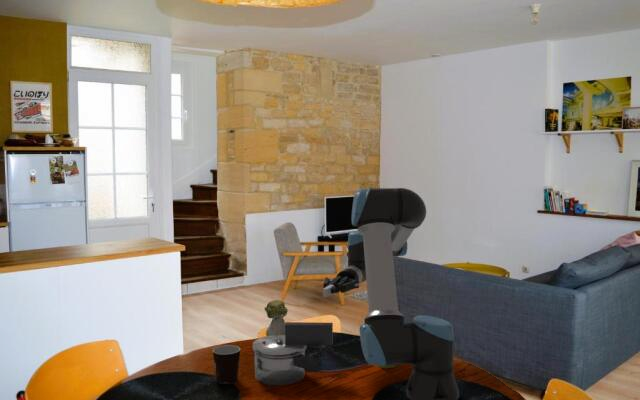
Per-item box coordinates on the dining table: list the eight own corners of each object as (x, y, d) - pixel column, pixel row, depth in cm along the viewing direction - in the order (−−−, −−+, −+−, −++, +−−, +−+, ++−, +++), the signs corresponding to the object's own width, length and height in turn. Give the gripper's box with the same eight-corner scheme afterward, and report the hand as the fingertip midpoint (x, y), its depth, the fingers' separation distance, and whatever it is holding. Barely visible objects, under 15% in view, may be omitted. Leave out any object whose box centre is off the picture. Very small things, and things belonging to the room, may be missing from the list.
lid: (248, 356, 180) (248, 331, 179) (256, 338, 197) (256, 315, 197) (331, 356, 179) (331, 332, 178) (333, 339, 196) (333, 316, 196)
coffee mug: (235, 387, 180) (234, 355, 179) (208, 384, 181) (208, 353, 181) (247, 373, 191) (247, 343, 190) (222, 371, 193) (222, 341, 192)
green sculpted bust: (313, 312, 217) (293, 306, 204) (294, 364, 214) (272, 361, 201) (284, 300, 224) (262, 293, 211) (265, 350, 221) (241, 346, 208)
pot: (238, 374, 190) (237, 346, 189) (275, 360, 202) (275, 335, 202) (299, 397, 171) (299, 367, 171) (336, 381, 184) (336, 353, 183)
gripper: (366, 290, 211) (343, 306, 189) (332, 286, 215) (306, 302, 194) (366, 269, 210) (343, 283, 188) (332, 266, 215) (306, 280, 193)
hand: (324, 293), depth 191 cm, fingers closed
